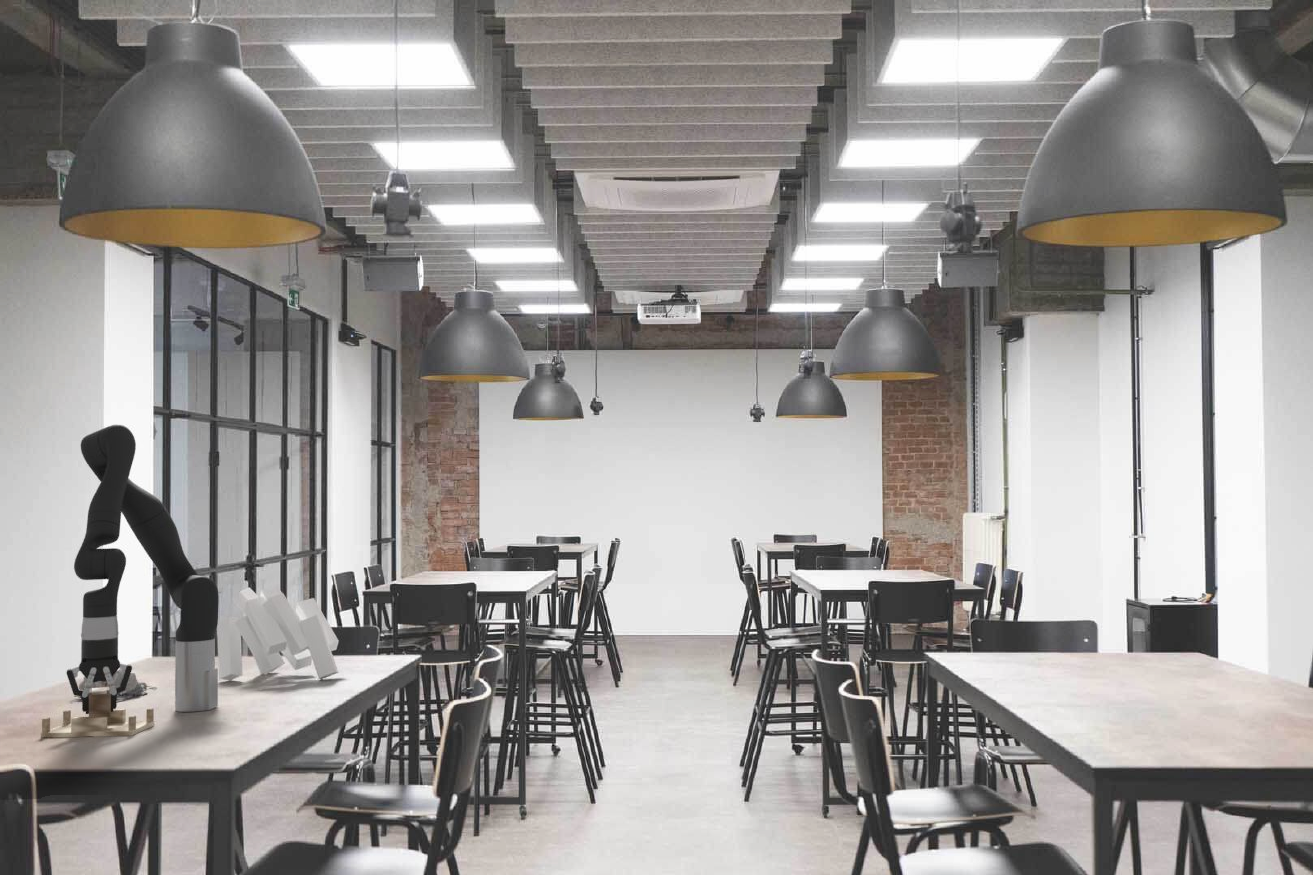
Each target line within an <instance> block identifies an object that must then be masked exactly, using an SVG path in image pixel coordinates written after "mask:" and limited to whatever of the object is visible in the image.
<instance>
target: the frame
mask: <svg viewBox="0 0 1313 875" xmlns="http://www.w3.org/2000/svg"><path fill="white" fill-rule="evenodd" d="M110 709H111V696H110V690H109V687H101V688H90V691H89V714H88V717H89V719H90V718H101V717H110Z"/></svg>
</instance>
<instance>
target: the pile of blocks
mask: <svg viewBox="0 0 1313 875" xmlns="http://www.w3.org/2000/svg"><path fill="white" fill-rule="evenodd" d="M260 590H261V591H260V594H259V595H260V596H259V595H258V594H257V593H255V591H254V590H253V589H252V588H251V587H246V588H244V589H242V590H241V591H239V592H238V593H237V594H236V595H235V596H234V598H233V599H232V600H231V602H232V603H233V605H235V606H236V607H237V608H238V609H239V610H240V611H241V612H242V613H243V614H244V616H242V617H241V618H240V617H238V616H232V615H228V616H227V615H226V616H225V617H223V618H220V619H218V625H217V628H216V632H217V635H216V636H217V656H218V657H217V661H218V662H217V663H218V680H222V681H223V680H224V681H233V680H235V679H237V678H239V677H242V676H243V674H244V673H243V656H242V655H243V654H242V639H243V641H244V642H245V644H246V645H247V647H248V649H249V650H250V652H251V654H252V656H253V658H254V662H255V664H256V666H257V669H258V672H259V674H260V675H268V674H269V673H272V672H274V671H275V670H277V669H279V668H281V666H283V665H284V664H286V663H285V662H286V661H287V662H288V663H289V665H291V667H292V668H293V670H294V671H297V670H300V669H302V668H307V667H310V666H311V665H312V662H313V666H314V669H315V671H316V674H317V675H316V676H317V677H318V679H320V680H323V678H324V679H326V678H329V677H331V676H333V675H336V674H339V670H338V666H337V664H336V661H335V658H334V655H333V651H336V650H337V648H338V645H339V641H340V640H339V639H338V637H337V635H336V634H335V632H334V630H333V628H332V627H331V625H330V623H329V621H328V620H327V618H326V617H325V615H324V613H323V611H322V610H321V608H320V606H319V604H318V603H317V601H316V599H315V598H314V597H311V598H308V599H304V600H300V601H297V603H296V607H295V611H294V609H293V606H292V605H291V604H290V602H289V601H288V599H287V597H286V595H285V593H284V592H282V591H281V589H280V587H279V585H275V586H271V587H267V588H264V589H260ZM241 637H242V638H241ZM281 654H282V655H281ZM282 656H283V657H284V658H285V659H286V661H285V660H284V659H283V657H282Z"/></svg>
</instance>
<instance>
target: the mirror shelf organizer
mask: <svg viewBox="0 0 1313 875" xmlns="http://www.w3.org/2000/svg"><path fill="white" fill-rule="evenodd" d="M126 711H127V709H126V708H116V709H113V712H110V717H101V718H90V719H89V716H75V717H72V714H71V713H72V710H71V709H67V710H63V712H62V716H63V717H62V724H61V725H59V726H56V727H54V728H51V717H43V718H42V719H41V732H40V738H41V737H53V738H83V737H82V736H94V737H115V736H116V737H121V736H123V737H125V736H126V737H127V736H128V737H130V736H131V737H133V736H134V735H136V734H139V733H141V732H143V731H145V730H148V729H149V728H152V727H154V726H155V720H154V711H155V710H154V707H151V708H146V720H137V715H130V716H128V721H126V720H127V719H126V717H127V716H126V715H127V714H126V713H127V712H126Z"/></svg>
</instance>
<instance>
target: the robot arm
mask: <svg viewBox="0 0 1313 875" xmlns="http://www.w3.org/2000/svg"><path fill="white" fill-rule="evenodd" d="M136 445H137V444H136V439H135V435H134V434H133V433H132V431H131V429H129V427H127V426H125V425H123V424H120V423H117V424H112V425H108V426H107V427H104V428H101V429H99V430H97V431H93V432H91V433H90V434H87V435H86V436H84V437H83V438H82V440H81V441H80V452H81V454H82V457H83V459H84V461H85V462H86V464H87V465H88V467H89V469H90V470H91V471H92V472H93V474H94V475H95V476H96V478H97V479H98V480H99V482H100V483H99V485H98V487H97V489H96V491H95V493H94V495H93V496H92V498H91V502H89V503H90V504H89V507H88V512H87V520H86V521H87V522H86V529H85V530H86V531H85V535H84V538H83V540H82V543H81V546H80V547H79V550H78V551H77V554H76V557H75V558H74V565H73V569H74V573H75V575H76V576H77V577H78V578H79V579H81V580H82V581H96V580H98V581H99V580H107V583H106V585H105V586H104V587H102V588H99V589H98V588H97V589H93V590H90V591H89V590H88V591H87V592H85V593H84V594H83V598H82V623H81V633H80V637H81V642H80V643H81V648H80V649H81V656H80V658H81V661H80V663H79V665H78V666H76V667H73V668H68V669H66V677H67V679H68V682H69V685H70V688H71V692H72V694H73V695H74V696H81V697H82V702H81V703H82V704H81V705H82V706H81V709H82V712H83V713H85V715H89V696H88V694H89V691H90V688H91V685H92V682H98V681H103V682H105V681H107V683H108V686H109V689H110V692H111V694H110V696H111V709H110V712H113V709H117V706H118V704H117V703H118V702H117V694H118V693H120V692H123V691H125V689H126V686H127V683H128V680H129V677H130V674H131V673H132V670H133V666H132V664H124V663H121V662H120V660H119V624H118V623H119V622H118V596H119V589H120V584H121V582H122V579H123V575H124V572H125V569H126V565H127V556H126V555H125V553H124V552H123V550H121V549H120V548H113V547H112V548H111V547H109V548H100V547H103V546H107V545H110V544H113V543H116V542H117V541H118V540H119V537H120V532H121V531H120V530H121V522H122V521H121V520H122V519H121V518H122V515H123V516H124V519H125V520H126V522H127V524H128V526H129V527H130V529H131V531H132V532H133V534H134V536H135V538H136V539H137V540H138V542H139V543H140V545H141V547H142V548H143V550H144V551H145V553H146V554H147V555H148V557H149V558H150V560H151V561H152V562H153V564H154V566H155V567H156V568H157V571H158V572H159V574H160V576H161V577H162V580H163V582H164V584H165V587H166V589H167V590H168V591H167V592H169V595H170V598H171V599H172V602H173V603H174V604H175V606H176V607H177V608H179V609H180V617H179V618H180V621H179V625H178V627H177V628H176V630H175V651H174V652H175V657H174V659H175V660H174V661H175V665H174V668H175V669H174V671H175V672H174V673H175V674H174V678H175V680H174V682H175V683H174V684H175V686H174V688H175V690H174V692H175V693H174V696H175V698H174V699H175V700H174V704H175V705H174V706H175V708H174V710H175V712H183V713H184V712H185V713H190V712H192V713H193V712H203V711H211V710H212V709H214V708H216V707H218V706H219V705H218V704H219V703H218V702H219V697H218V695H219V686H218V685H219V682H218V681H219V668H216V639H215V638H216V632H217V625H218V621H219V605H220V604H219V601H220V600H219V589H218V585H217V584H216V583H215V581H214V580H213V579H212V578H210V577H207V576H204V575H199V573H197V571H196V569H194V567H193V566H192V564H191V563H190V561H189V559H188V558H187V557H186V554H185V552H184V550H183V547H182V542H181V539H180V534H179V532H178V529H177V526H176V523H175V522H174V520H173V518H172V516H171V514H170V513H169V511H168V510H167V508H166V506H165V505H164V503H163V502H162V501H161V500H160V499H159V498H157V496H155V495H154V494H152V493H151V492H149V491H148V490H146V489H144V488H142V487H140V486H139V485H137V484H136V483H134V482H133V481H132V480H131V479H130V478H129V476H130V473H131V470H132V469H131V468H132V465H133V463H134V458H135V454H136V450H137V449H136V448H137V446H136ZM120 669H121V673H122V674H124V675H123V678H122V681H121V684H120V686H119V687H115V684H114V681H113V678H112V677H113V675H114V674H115V673H116V671H118V670H120ZM79 672H80V673H81V674H82V676H85V677H86V678H87V680H86V683H85V686H84V689H83V690H80V689H79V684H78V683H77V680H76V678H77V677H78V673H79Z"/></svg>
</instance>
